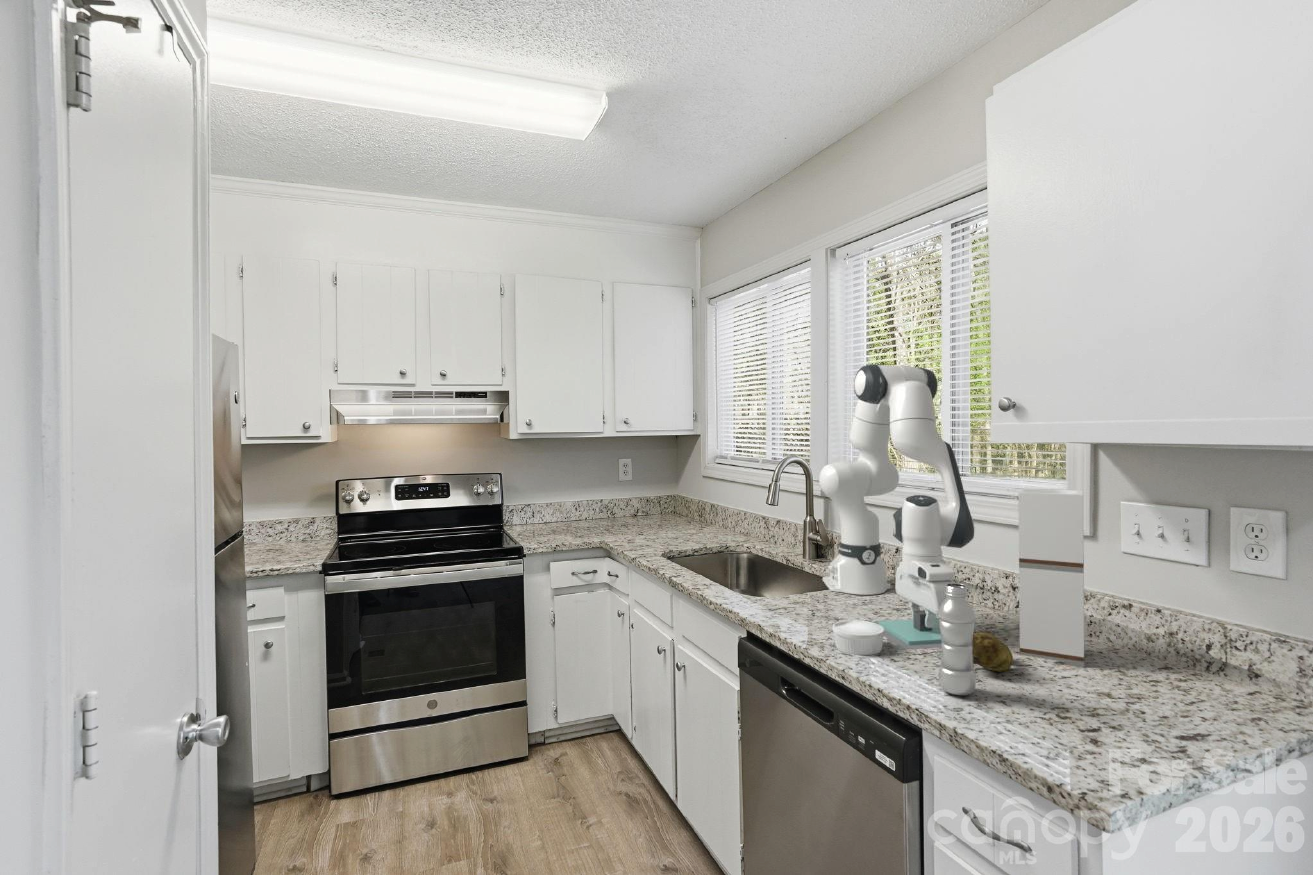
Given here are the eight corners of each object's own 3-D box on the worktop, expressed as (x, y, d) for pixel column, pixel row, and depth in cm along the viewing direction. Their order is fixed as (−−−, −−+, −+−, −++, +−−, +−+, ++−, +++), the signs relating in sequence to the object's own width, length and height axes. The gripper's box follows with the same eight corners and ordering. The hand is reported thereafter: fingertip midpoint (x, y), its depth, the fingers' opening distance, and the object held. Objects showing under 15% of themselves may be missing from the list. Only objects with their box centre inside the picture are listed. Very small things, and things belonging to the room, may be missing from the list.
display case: (1084, 651, 142) (1083, 490, 141) (1084, 667, 133) (1082, 495, 133) (1024, 642, 148) (1022, 488, 148) (1019, 657, 140) (1018, 492, 139)
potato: (1031, 671, 132) (1031, 631, 132) (989, 683, 126) (988, 642, 126) (994, 658, 139) (993, 620, 139) (952, 669, 134) (951, 630, 133)
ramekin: (848, 639, 154) (847, 616, 154) (894, 649, 146) (894, 626, 146) (823, 651, 146) (822, 627, 146) (870, 663, 138) (870, 638, 138)
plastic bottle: (976, 688, 124) (974, 582, 124) (977, 702, 118) (976, 591, 117) (938, 683, 127) (937, 580, 126) (938, 696, 120) (936, 588, 120)
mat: (864, 624, 164) (864, 622, 164) (939, 620, 166) (939, 617, 166) (903, 651, 144) (903, 649, 144) (988, 646, 147) (988, 643, 147)
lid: (878, 624, 162) (877, 605, 162) (935, 621, 164) (935, 602, 164) (908, 644, 147) (908, 623, 147) (971, 640, 149) (971, 619, 149)
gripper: (888, 557, 165) (889, 611, 165) (932, 575, 145) (933, 637, 145) (912, 556, 166) (912, 610, 166) (959, 574, 145) (959, 636, 146)
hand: (922, 623), depth 155 cm, fingers open, 4 cm apart
